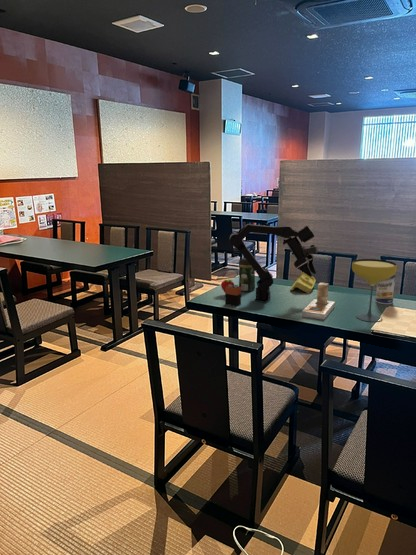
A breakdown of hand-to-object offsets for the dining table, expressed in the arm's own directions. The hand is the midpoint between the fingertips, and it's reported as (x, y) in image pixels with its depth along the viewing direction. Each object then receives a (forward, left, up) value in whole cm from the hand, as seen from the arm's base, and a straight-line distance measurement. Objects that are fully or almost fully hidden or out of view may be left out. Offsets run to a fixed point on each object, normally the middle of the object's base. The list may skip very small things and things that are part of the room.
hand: (313, 275), depth 198 cm
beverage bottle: (+31, +19, -15) cm, 39 cm away
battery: (-34, -20, -15) cm, 42 cm away
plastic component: (-11, +26, -15) cm, 32 cm away
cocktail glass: (+28, -9, -15) cm, 33 cm away
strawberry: (-44, -6, -15) cm, 47 cm away
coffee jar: (-39, +8, -15) cm, 42 cm away
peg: (+6, -5, -14) cm, 17 cm away
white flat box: (+6, -11, -14) cm, 19 cm away
